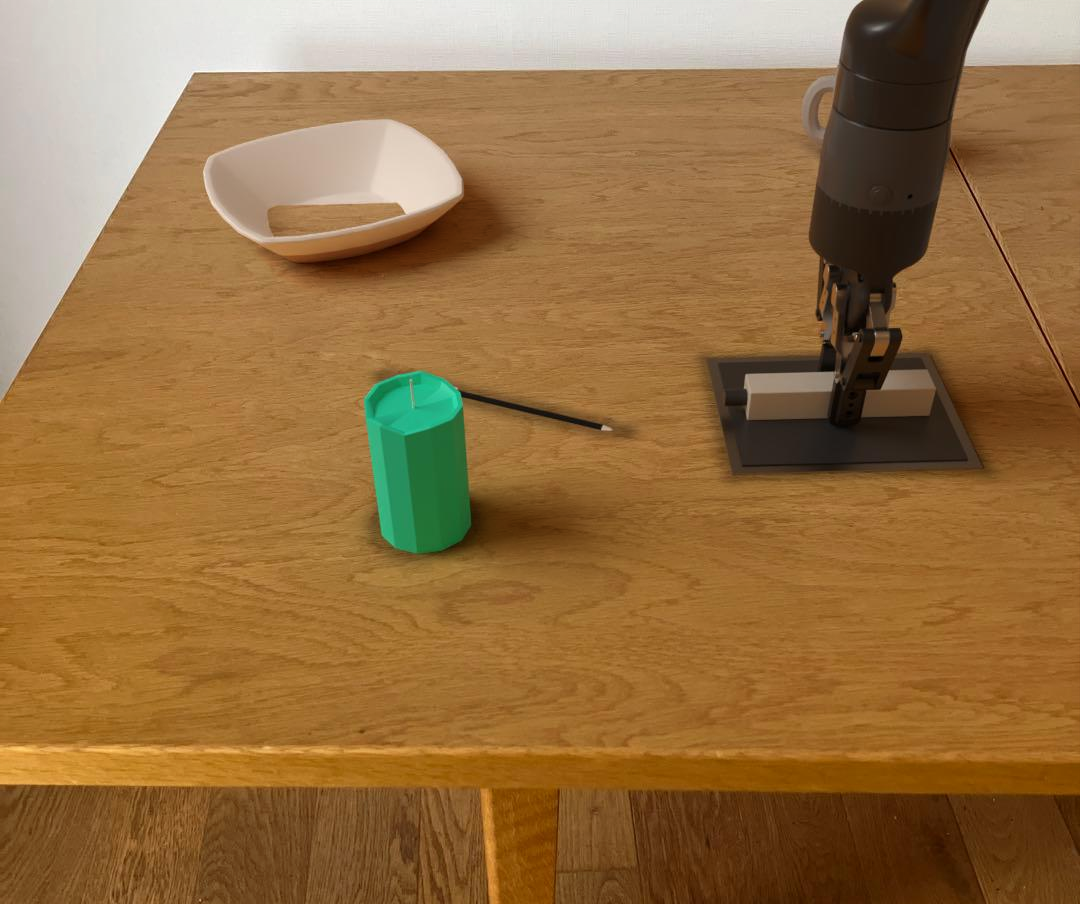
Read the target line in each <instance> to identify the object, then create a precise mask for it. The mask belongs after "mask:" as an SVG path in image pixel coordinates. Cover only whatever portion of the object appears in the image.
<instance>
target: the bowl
mask: <svg viewBox="0 0 1080 904" xmlns="http://www.w3.org/2000/svg"><path fill="white" fill-rule="evenodd" d="M459 171H460V170H459V169H458V167H457V166H456V164H455V162H454V161H453V160H452V158H451V157H450V156H449V155H448V154H447V152H446V151H445V150H444V149H442V147H440V146H439V145H438V144H436V143H435V142H434V141H433V140H431V139H430V138H429V137H427V136H426V135H424V133H422V132H420V131H418V130H417V129H415V128H414V127H412V126H410V125H407V124H404V123H402V122H400V121H398V120H395V119H391V118H385V119H384V118H383V119H360V120H351V121H343V122H335V123H329V124H322V125H316V126H312V127H305V128H300V129H299V128H298V129H294V130H290V131H286V132H280V133H277V134H273V135H268V136H263V137H260V138H257V139H253V140H250V141H246V142H243V143H239V144H235V145H233V146H230V147H228V148H225V149H222V150H221V151H218V152H215V153H213V154H211V155H209V156H208V158H207V159H206V161H205V165H204V167H203V172H202V176H203V181H204V182H203V183H204V187H205V191H206V193H207V196H208V198H209V201H210V204H211V205H212V207H213V208H214V209H215V211H216V212H217V213H218V214H219V216H220V217H221V218H222V219H223V220H224V221H225V222H226V223H227V224H228V225H229V226H230V227H231V228H233V229H234V230H235V231H236V232H237V233H238V234H239V235H242V236H243V237H244V238H247V239H248V240H251V241H252V242H254V243H256V244H258V245H259V246H261V247H263V248H265V249H267V250H269V251H271V252H272V253H274V254H277V255H279V256H280V257H282V258H284V259H286V260H288V261H290V262H293V263H297V264H307V263H309V264H310V263H320V262H327V261H335V260H343V259H347V258H353V257H357V256H363V255H366V254H370V253H374V252H377V251H380V250H385V249H387V248H390V247H393V246H396V245H398V244H401V243H404V242H407V241H409V240H411V239H413V238H415V237H417V236H418V235H420V234H421V233H422V232H423V231H424V230H426V229H427V228H428V227H429V226H431V225H432V224H433V223H434V222H436V221H437V220H438V219H439V218H441V217H443V215H444V214H446V213H447V212H448V211H450V210H451V209H452V208H453V207H454V206H455V205H457V204H458V203H459V202H460V201H461V200H463V199H464V197H465V192H464V191H465V189H464V187H465V186H464V178H463V177H462V175H461V173H460V172H459ZM361 204H363V205H365V204H398V205H399V206H400V207H401V209H402V210H403V212H404V213H405V214H402V215H398V216H394V217H391V218H386V219H384V220H379V221H375V222H371V223H367V224H361V225H357V226H352V227H347V228H341V229H336V230H331V231H323V232H316V233H309V234H302V235H285V236H282V235H281V236H274V234H273V232H272V229H271V227H270V222H269V217H268V213H269V211H270V209H272V208H274V207H279V206H280V207H281V206H282V207H283V206H316V205H317V206H319V205H320V206H321V205H323V206H324V205H325V206H326V205H361Z"/></svg>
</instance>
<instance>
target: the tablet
mask: <svg viewBox="0 0 1080 904" xmlns="http://www.w3.org/2000/svg"><path fill="white" fill-rule="evenodd" d="M819 360H820V354H819V355H782V356H781V355H780V356H777V355H776V356H743V357H741V356H740V357H739V356H738V357H706V358H705V361H706V366H707V370H708V374H709V375H708V376H709V378H710V383H711V389H712V392H713V396H714V402H715V406H716V410H717V414H718V420H719V424H720V428H721V433H722V437H723V443H724V446H725V451H726V455H727V460H728V464H729V469H730V473H731V476H762V475H763V476H764V475H765V476H766V475H767V476H768V475H801V474H802V475H803V474H805V475H806V474H808V475H809V474H840V473H841V474H843V473H883V472H884V473H885V472H919V471H920V472H921V471H960V470H983V469H984V467H983V465H982V462H981V461H980V458H979V456H978V455H977V452H976V450H975V448H974V446H973V444H972V441H971V439H970V437H969V434H968V432H967V430H966V428H965V427H964V424H963V422H962V420H961V418H960V416H959V413H958V412H957V409H956V408H955V405H954V403H953V401H952V399H951V397H950V395H949V393H948V391H947V388H946V386H945V384H944V382H943V380H942V378H941V376H940V373H939V371H938V370H937V369H938V368H936V365H935V363H934V361H933V359H932V357H931V355H930V353H929V352H906V353H904V352H903V353H901V352H899V353H898V352H897V354H896V356H895V359H894V361H893V363H892V365H891V368H890V370H925V369H927V370H928V372H929V374H930V376H931V379H932V381H933V383H934V385H935V387H936V391H935V395H934V399H933V403H932V407H931V411H930V415H929V416H900V417H861V420H860V422H859V423H858V424H856V425H848V426H833V425H831V424H830V423H829V420H828V418H821V419H781V420H747V417H746V413H745V409H744V406H724V405H723V390H724V389H744V383H745V375H746V374H766V373H805V372H818V366H819Z"/></svg>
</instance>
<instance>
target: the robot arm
mask: <svg viewBox="0 0 1080 904" xmlns="http://www.w3.org/2000/svg"><path fill="white" fill-rule="evenodd" d="M989 2H990V0H861V1H859V2H858V3H857V4H855V6H854V7H853V8H852V9H851V11H850V13H849V14H848V15H849V16H848V18H847V20H846V23H845V26H844V30H843V35H842V40H841V47H840V54H839V58H838V64H839V65H838V64H837V66H838V71H837V70H836V71H837V78H836V84H835V91H834V97H833V96H832V98H833V104H832V103H831V105H832V109H831V108H830V111H831V113H830V112H829V117H828V120H827V123H826V126H825V128H826V129H825V133H824V137H823V143H822V144H821V150H820V157H819V162H818V163H819V164H818V169H817V177H816V182H815V190H814V196H813V202H812V208H811V214H810V215H811V216H810V223H809V229H808V241H809V245H810V247H811V248H812V250H813V252H814V253H816V255H818V257H819V264H818V278H817V294H816V295H817V296H816V308H815V312H814V314H815V317H816V321H817V322H821V324H820V328H819V331H818V337H819V340H820V342H821V343H822V344H821V349H820V354H819V355H820V360H819V366H818V372H834V381H833V386H832V392H831V397H830V403H829V408H828V414H827V417H828V420H829V423H830V424H831V425H833V426H848V425H856V424H858V423H859V422H860V420H861V416H862V411H863V406H864V401H865V396H866V391H867V390H881V388H882V386H883V384H884V381H885V379H886V377H887V375H888V372H889V370H890V368H891V365H892V363H893V361H894V359H895V356H896V354H897V353H898V352H899V349H900V347H901V345H902V341H903V333H902V329H901V327H889V324H890V318H891V313H892V311H893V310H894V309H895V307H896V302H897V301H896V299H897V293H898V292H897V291H898V289H897V288H898V287H897V282H896V281H894V280H893V279H894V277H895V276H897V275H898V274H899V273H901V272H902V271H904V270H905V269H906V270H907V269H908V268H910V267H912V266H914V265H916V264H917V263H918V262H920V261H921V260H922V259H923V258H924V256H925V255H926V254H927V251H928V248H929V243H930V240H931V235H932V231H933V226H934V221H935V217H936V213H937V208H938V203H939V200H940V195H941V191H942V186H943V182H944V178H945V172H946V168H947V164H948V161H949V160H948V159H949V153H950V147H951V136H952V123H953V118H954V111H955V107H956V102H957V97H958V94H959V89H960V85H961V79H962V77H963V76H962V75H963V72H964V71H963V70H964V67H965V63H966V57H967V53H968V50H969V47H970V44H971V42H972V40H973V37H974V35H975V32H976V30H977V28H978V26H979V23H980V21H981V19H982V17H983V15H984V13H985V11H986V9H987V6H988V4H989Z"/></svg>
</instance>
